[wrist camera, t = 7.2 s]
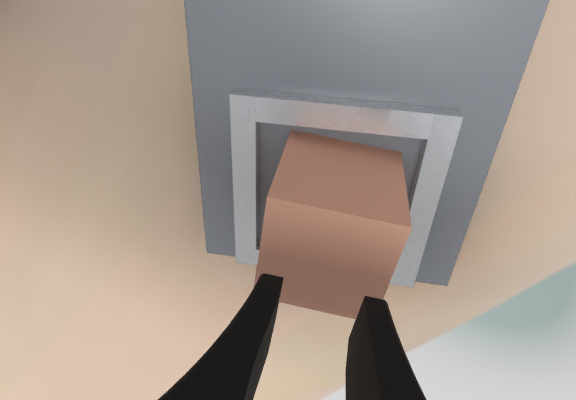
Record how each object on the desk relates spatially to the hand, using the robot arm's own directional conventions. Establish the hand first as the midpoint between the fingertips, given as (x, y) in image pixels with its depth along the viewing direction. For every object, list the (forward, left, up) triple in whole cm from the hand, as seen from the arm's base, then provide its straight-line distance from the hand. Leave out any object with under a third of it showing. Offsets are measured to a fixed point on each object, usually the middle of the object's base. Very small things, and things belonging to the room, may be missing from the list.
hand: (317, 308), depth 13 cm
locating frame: (0, 0, -7) cm, 7 cm away
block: (0, 0, -7) cm, 7 cm away
